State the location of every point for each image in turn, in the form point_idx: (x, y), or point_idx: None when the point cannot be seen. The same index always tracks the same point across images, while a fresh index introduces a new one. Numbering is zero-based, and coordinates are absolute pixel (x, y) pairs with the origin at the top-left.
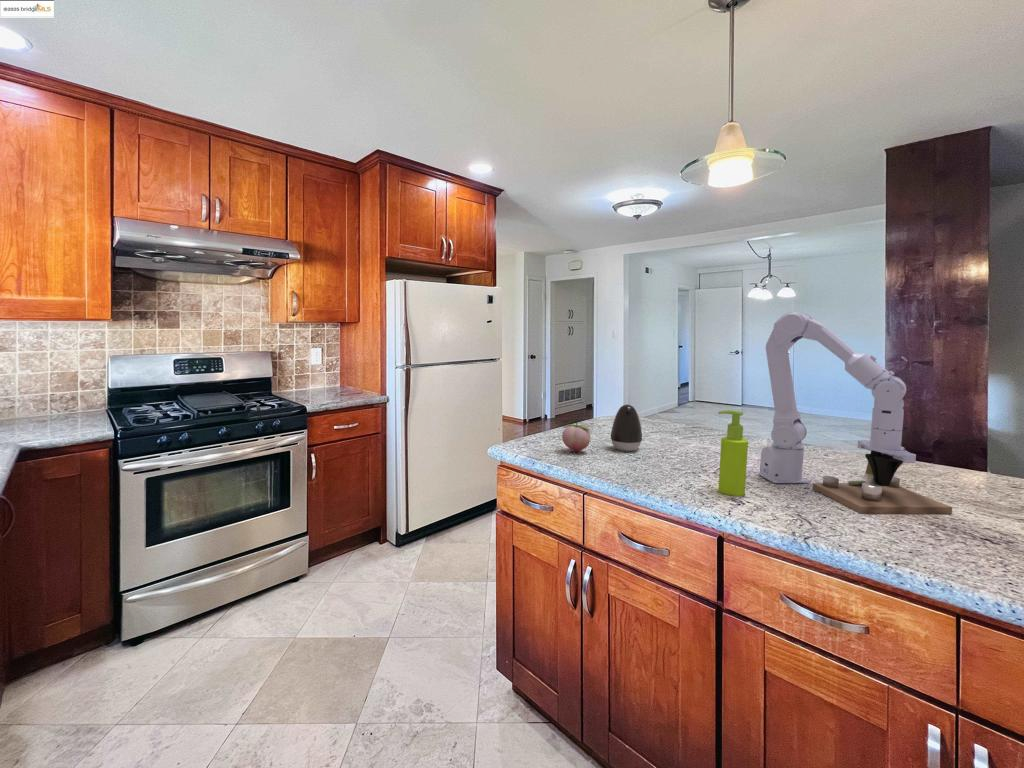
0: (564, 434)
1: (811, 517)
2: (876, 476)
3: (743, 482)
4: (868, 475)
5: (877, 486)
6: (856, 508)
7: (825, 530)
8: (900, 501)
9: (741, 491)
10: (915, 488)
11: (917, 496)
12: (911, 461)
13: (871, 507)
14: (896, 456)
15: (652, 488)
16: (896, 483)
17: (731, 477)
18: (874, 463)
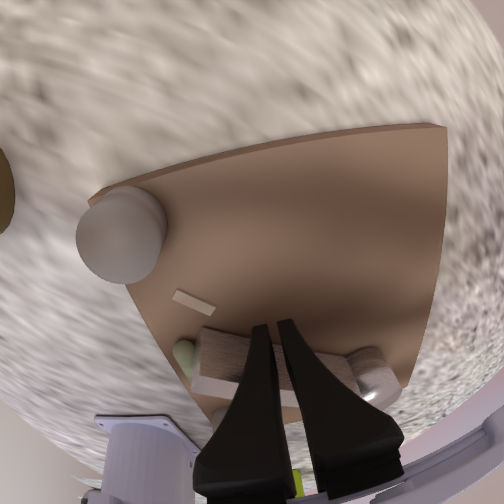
0: None
1: (397, 421)
2: (279, 389)
3: (300, 488)
4: (230, 393)
5: (389, 393)
6: None
7: (437, 406)
8: (388, 294)
9: (299, 476)
10: (50, 63)
11: (322, 184)
12: (502, 421)
13: (411, 370)
14: (420, 475)
15: None
16: (161, 225)
17: None
18: (289, 458)
